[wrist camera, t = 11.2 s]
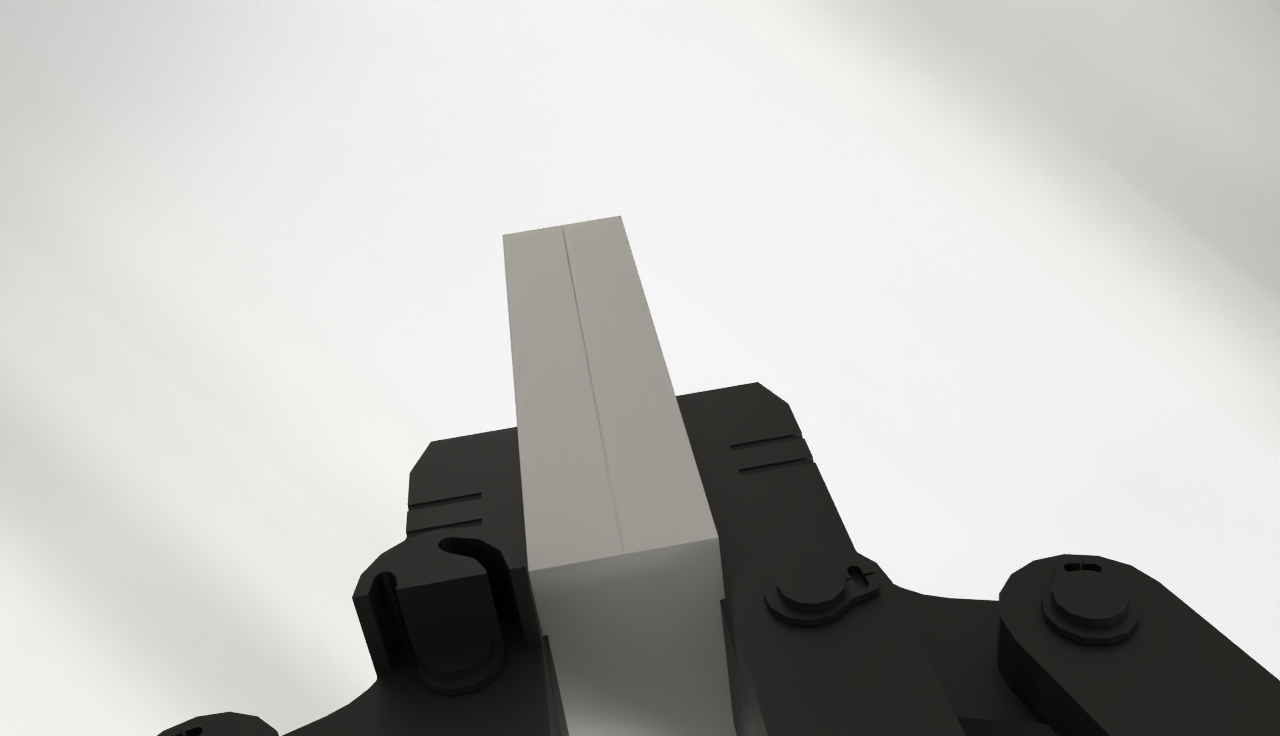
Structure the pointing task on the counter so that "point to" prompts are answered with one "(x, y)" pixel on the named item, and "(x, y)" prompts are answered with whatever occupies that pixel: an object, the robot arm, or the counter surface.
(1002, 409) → the counter surface
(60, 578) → the counter surface
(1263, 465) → the counter surface
